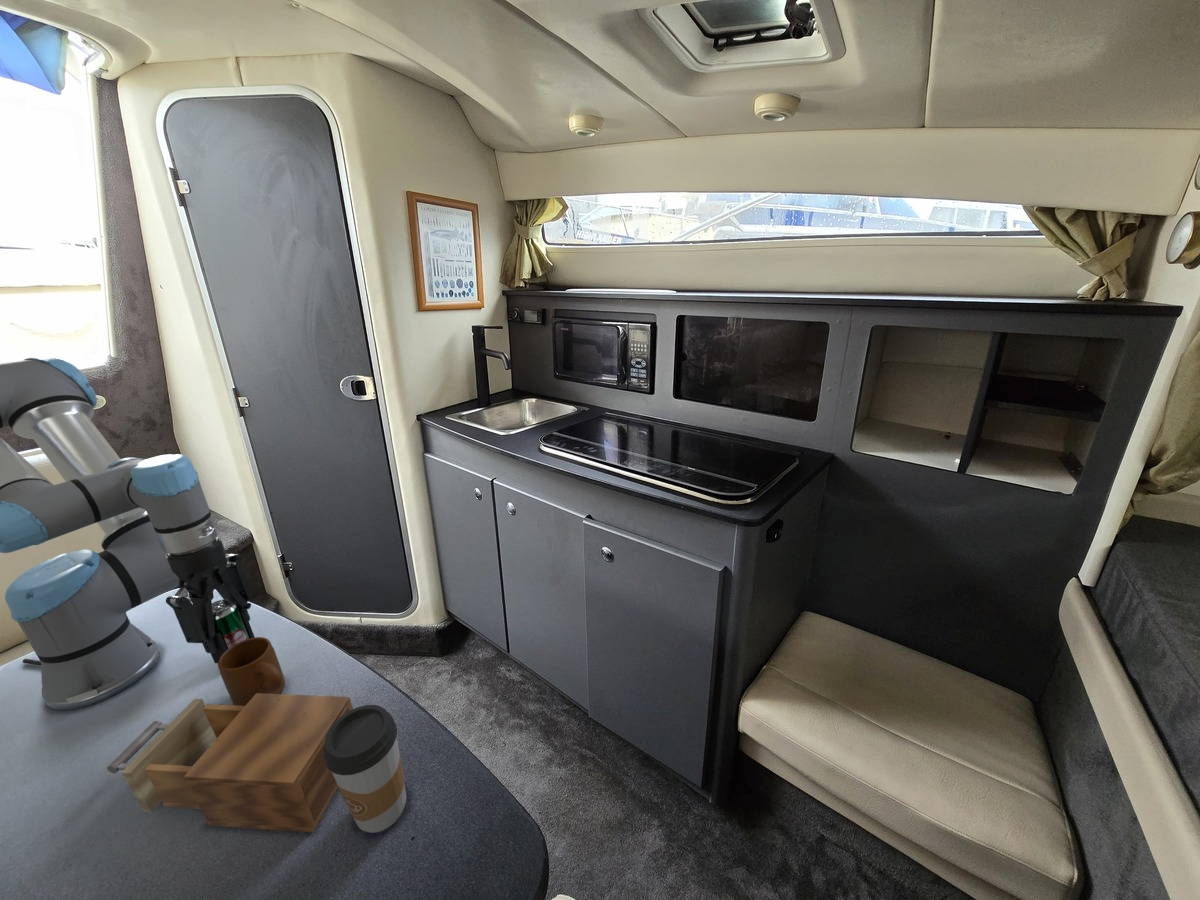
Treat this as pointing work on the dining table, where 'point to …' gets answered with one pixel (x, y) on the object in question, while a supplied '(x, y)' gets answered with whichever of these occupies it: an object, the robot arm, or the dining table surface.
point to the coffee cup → (367, 766)
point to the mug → (251, 670)
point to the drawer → (172, 755)
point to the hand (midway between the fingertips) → (235, 649)
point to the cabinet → (270, 765)
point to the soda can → (229, 622)
